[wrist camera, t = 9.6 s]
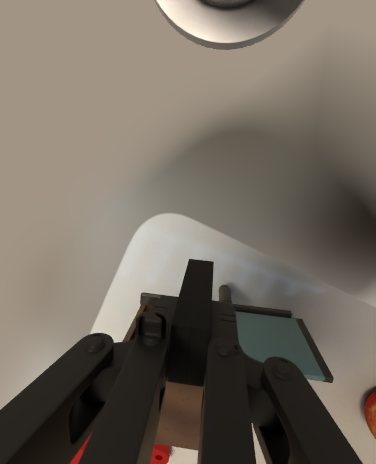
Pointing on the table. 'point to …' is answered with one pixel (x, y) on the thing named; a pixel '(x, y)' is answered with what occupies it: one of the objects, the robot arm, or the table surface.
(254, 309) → the cabinet
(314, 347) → the glass door
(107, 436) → the robot arm
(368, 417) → the apple
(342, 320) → the table surface
